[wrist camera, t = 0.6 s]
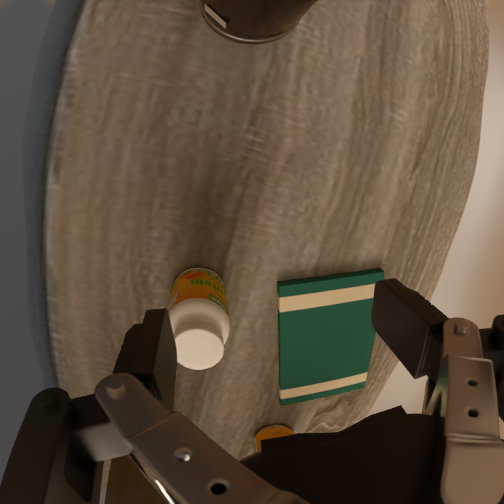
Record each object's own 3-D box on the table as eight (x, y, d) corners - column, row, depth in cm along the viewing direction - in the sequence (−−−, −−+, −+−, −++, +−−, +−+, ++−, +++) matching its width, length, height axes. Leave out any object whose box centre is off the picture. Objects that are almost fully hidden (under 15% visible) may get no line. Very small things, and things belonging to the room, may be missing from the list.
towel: (276, 281, 33) (279, 286, 32) (380, 267, 34) (384, 271, 33) (279, 400, 39) (280, 405, 38) (361, 382, 40) (364, 387, 39)
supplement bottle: (234, 277, 32) (245, 334, 23) (213, 319, 33) (217, 383, 24) (183, 258, 30) (175, 310, 21) (165, 302, 32) (153, 364, 23)
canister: (159, 414, 37) (152, 547, 19) (194, 451, 41) (200, 564, 23) (99, 426, 38) (77, 541, 19) (137, 461, 41) (130, 563, 23)
